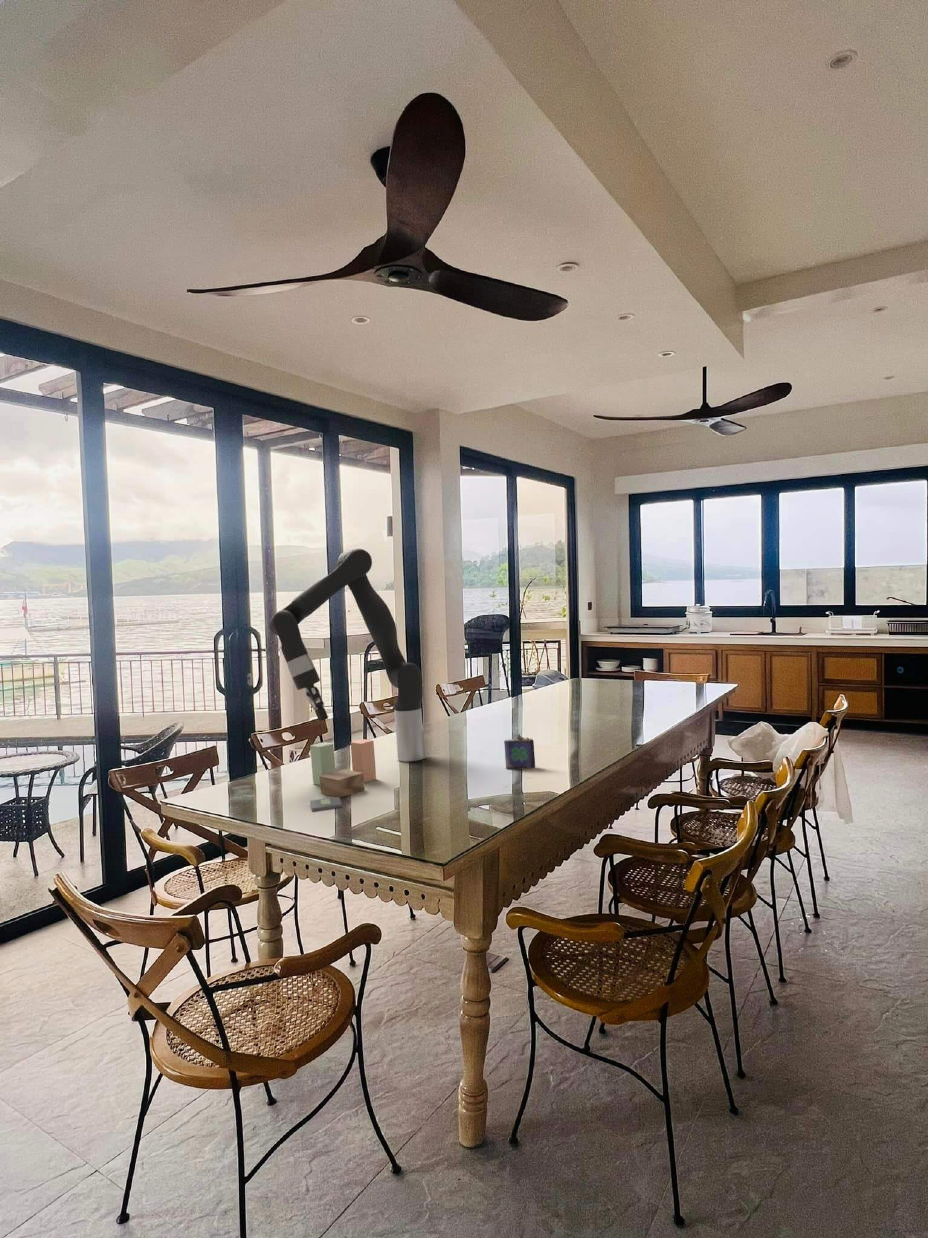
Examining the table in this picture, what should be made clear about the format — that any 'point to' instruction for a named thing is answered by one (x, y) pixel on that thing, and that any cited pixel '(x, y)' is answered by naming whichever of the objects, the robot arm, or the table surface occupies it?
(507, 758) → the flask
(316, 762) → the sage pillar
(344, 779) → the walnut base
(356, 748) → the terracotta pillar
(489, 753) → the table surface
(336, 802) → the tile
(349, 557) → the robot arm
